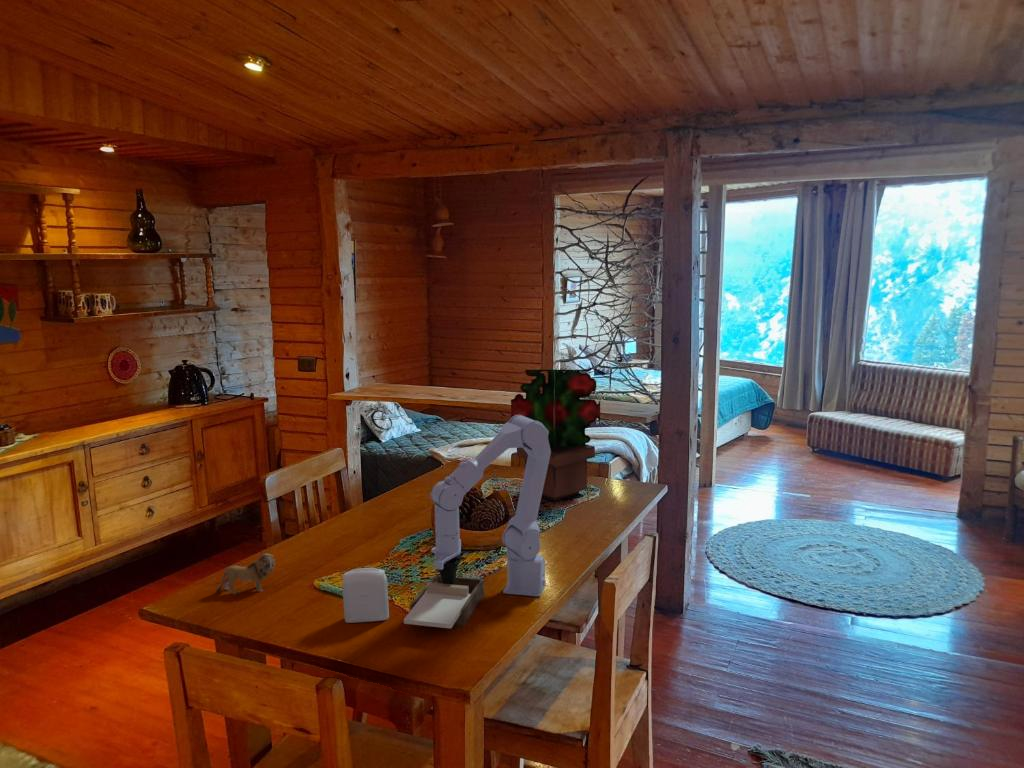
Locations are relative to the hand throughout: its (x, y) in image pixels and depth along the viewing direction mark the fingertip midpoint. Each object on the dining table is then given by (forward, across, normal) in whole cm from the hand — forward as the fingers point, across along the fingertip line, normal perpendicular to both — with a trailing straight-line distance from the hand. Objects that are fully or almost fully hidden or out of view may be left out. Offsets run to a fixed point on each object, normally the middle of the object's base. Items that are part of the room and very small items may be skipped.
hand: (449, 586), depth 175 cm
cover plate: (+2, +8, 0) cm, 9 cm away
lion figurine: (+6, +2, -54) cm, 54 cm away
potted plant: (+5, -91, +10) cm, 92 cm away
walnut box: (+5, +1, 0) cm, 5 cm away
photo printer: (+5, +10, -17) cm, 20 cm away
